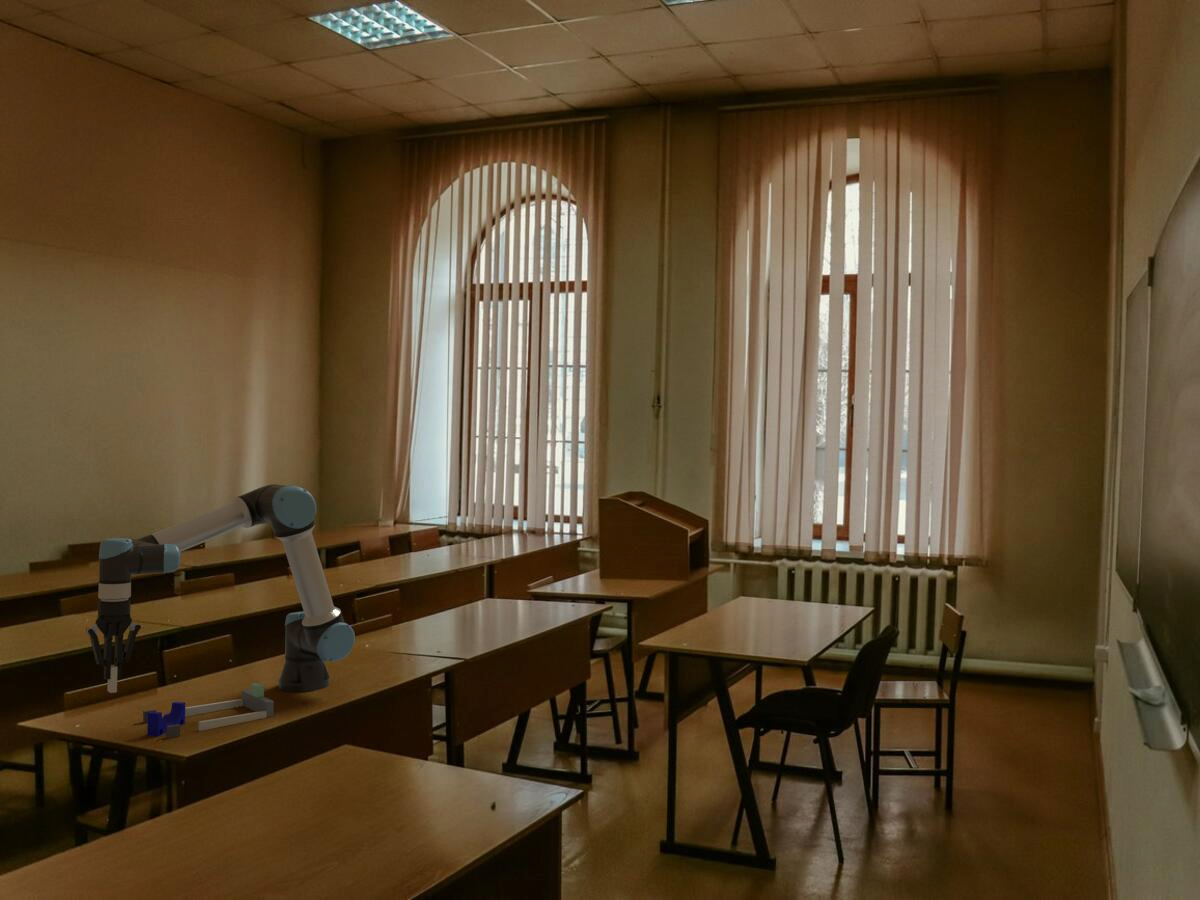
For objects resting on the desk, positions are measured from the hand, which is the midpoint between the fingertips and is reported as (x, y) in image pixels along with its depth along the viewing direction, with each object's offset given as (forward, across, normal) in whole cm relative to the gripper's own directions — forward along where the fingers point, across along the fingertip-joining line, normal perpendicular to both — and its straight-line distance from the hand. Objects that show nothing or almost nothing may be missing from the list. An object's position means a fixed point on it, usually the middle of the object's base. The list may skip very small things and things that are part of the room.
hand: (112, 691), depth 262 cm
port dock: (+12, -28, 0) cm, 31 cm away
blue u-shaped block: (+12, -13, +1) cm, 18 cm away
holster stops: (+12, -12, 0) cm, 17 cm away
